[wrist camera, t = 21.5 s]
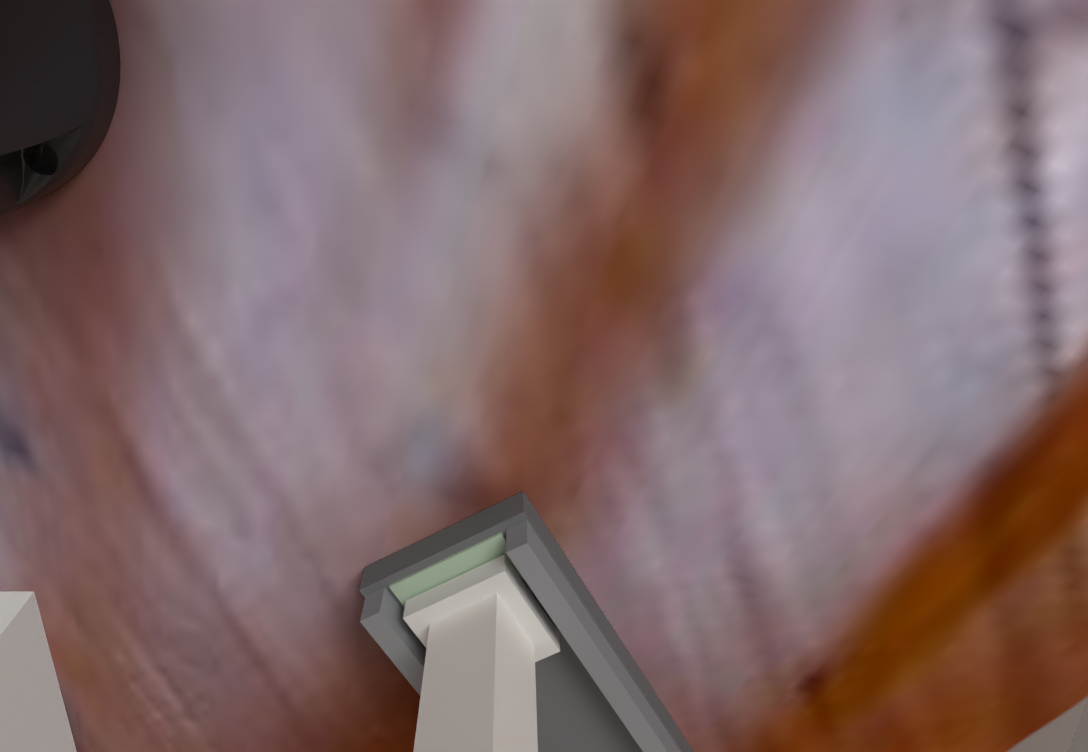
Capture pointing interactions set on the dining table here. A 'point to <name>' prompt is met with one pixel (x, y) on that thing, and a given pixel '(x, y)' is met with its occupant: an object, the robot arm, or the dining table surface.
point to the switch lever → (480, 661)
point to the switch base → (584, 632)
